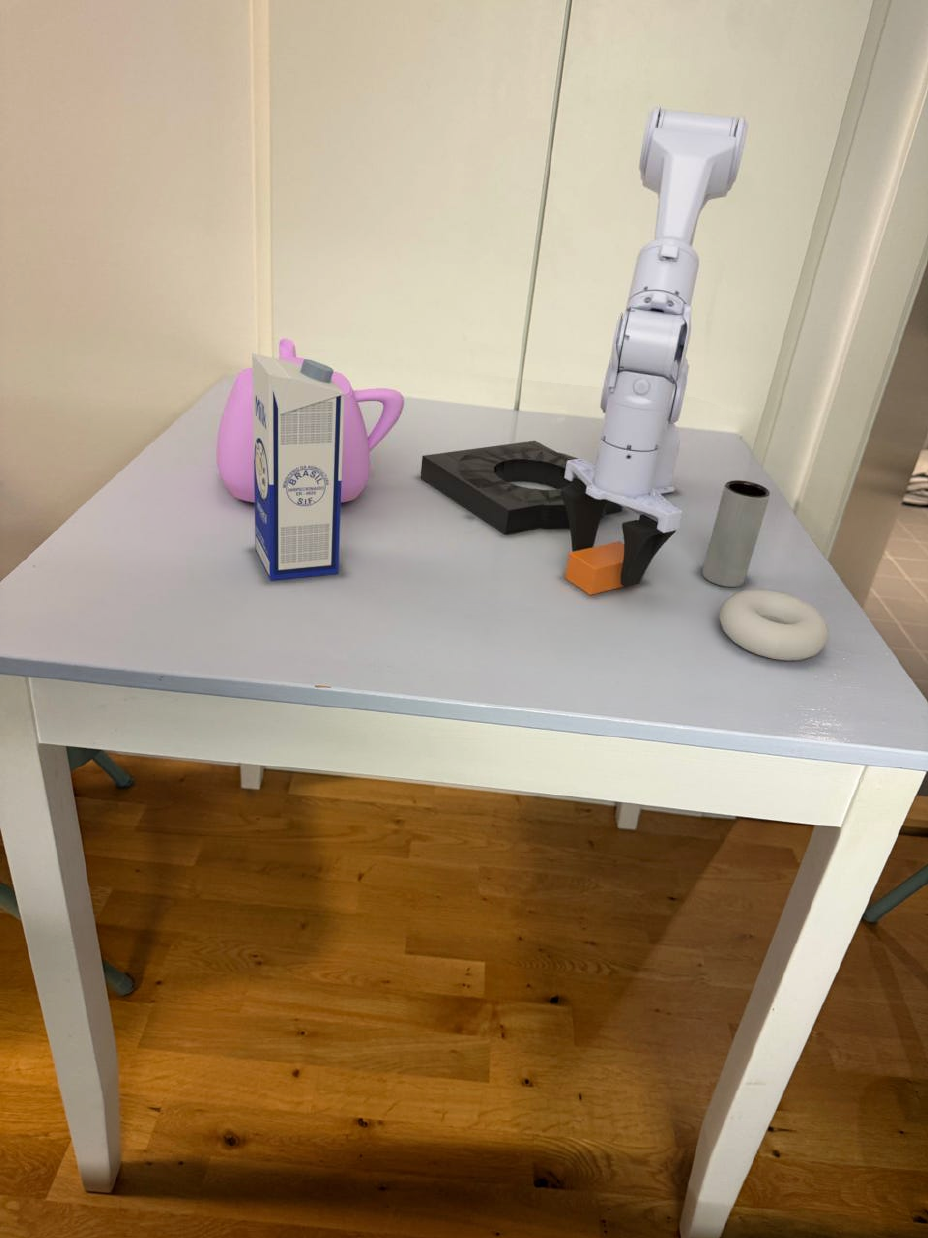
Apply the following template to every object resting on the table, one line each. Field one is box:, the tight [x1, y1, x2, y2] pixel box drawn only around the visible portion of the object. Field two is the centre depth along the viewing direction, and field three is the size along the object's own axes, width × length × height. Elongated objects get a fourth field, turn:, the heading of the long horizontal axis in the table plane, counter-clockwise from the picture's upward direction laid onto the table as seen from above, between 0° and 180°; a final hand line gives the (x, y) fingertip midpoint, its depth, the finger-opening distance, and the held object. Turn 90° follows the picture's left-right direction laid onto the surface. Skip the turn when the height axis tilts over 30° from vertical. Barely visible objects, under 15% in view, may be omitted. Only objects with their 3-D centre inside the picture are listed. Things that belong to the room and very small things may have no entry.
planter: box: [701, 479, 771, 588], centre depth 94 cm, size 4×4×10 cm
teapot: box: [216, 338, 405, 504], centre depth 105 cm, size 23×21×15 cm
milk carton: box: [251, 353, 345, 582], centre depth 84 cm, size 7×7×20 cm
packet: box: [564, 540, 624, 596], centre depth 92 cm, size 7×4×3 cm, turn 124°
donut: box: [719, 589, 829, 662], centre depth 85 cm, size 10×4×10 cm
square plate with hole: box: [420, 440, 624, 536], centre depth 110 cm, size 20×20×3 cm
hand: (605, 568), depth 92 cm, fingers open, 7 cm apart
